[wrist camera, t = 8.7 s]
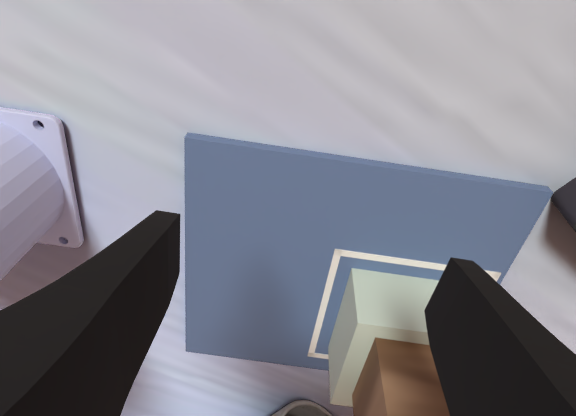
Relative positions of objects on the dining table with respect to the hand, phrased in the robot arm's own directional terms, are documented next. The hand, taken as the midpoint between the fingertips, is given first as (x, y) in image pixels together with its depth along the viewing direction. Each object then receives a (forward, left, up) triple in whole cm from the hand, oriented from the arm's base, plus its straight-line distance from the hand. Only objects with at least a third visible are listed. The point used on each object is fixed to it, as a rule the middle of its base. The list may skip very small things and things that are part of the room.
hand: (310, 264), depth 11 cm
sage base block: (+7, -11, -9) cm, 16 cm away
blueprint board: (+3, -9, -10) cm, 14 cm away
